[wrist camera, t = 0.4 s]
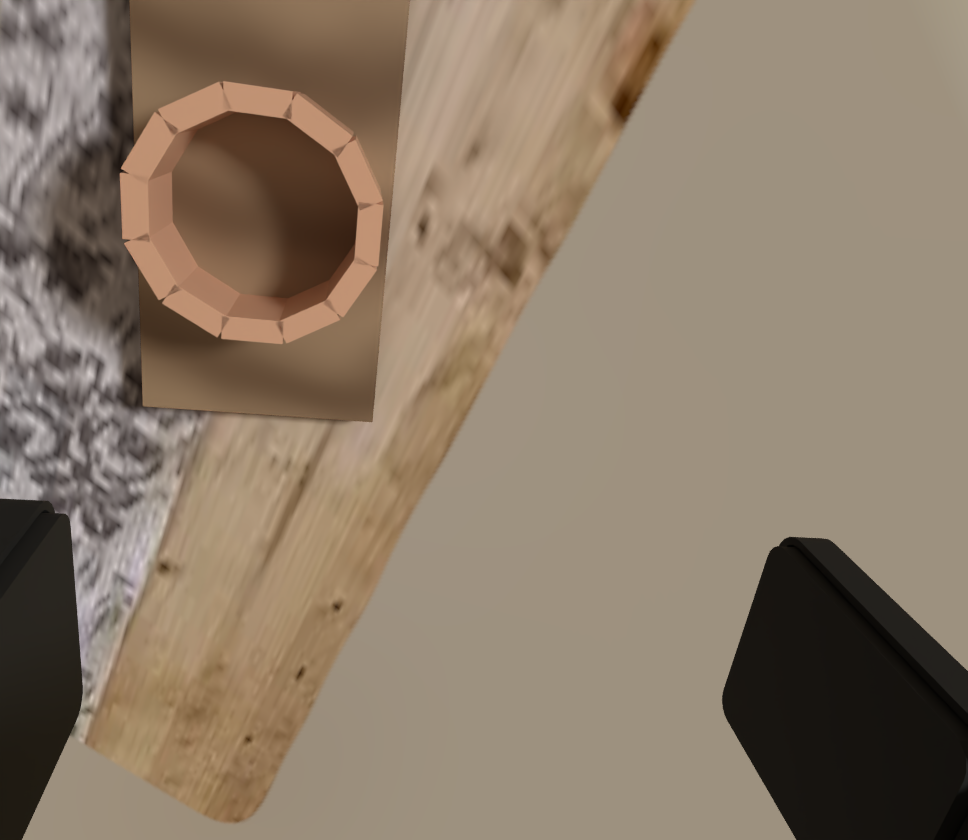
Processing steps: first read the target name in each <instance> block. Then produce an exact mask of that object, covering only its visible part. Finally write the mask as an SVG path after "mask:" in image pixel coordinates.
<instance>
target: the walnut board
mask: <svg viewBox="0 0 968 840" xmlns="http://www.w3.org/2000/svg"><path fill="white" fill-rule="evenodd" d="M129 4H130V34H131V64H132V94H133V125H134V145H135V144H136V142H137V140H138V139H139V137H140V135H141V134H142V132H143V130H144V129H145V127H146V125H147V124H148V122H149V120H150V119H151V117H152V115H153V114H154V112H159V111H158V109H159V108H161V107H164V106H166V105H168V104H170V103H173V102H175V101H177V100H179V99H181V98H184V97H186V96H188V95H190V94H193V93H195V92H197V91H199V90H201V89H204V88H206V87H208V86H210V85H213V84H215V83H217V82H223V81H227V82H235V83H242V84H249V85H256V86H263V87H270V88H276V89H283V90H290V91H297V92H301V94H305V95H307V96H308V97H309V98H311V99H312V100H313V101H314V102H316V103H317V104H318V105H320V106H321V107H322V108H323V109H325V110H326V111H327V112H329V113H330V114H331V115H332V116H334V117H335V118H336V119H338V120H339V121H340V122H341V123H343V124H344V125H345V126H347V127H348V128H349V129H351V130H352V131H353V132H354V133H353V136H352V137H354V136H357V138H358V140H359V142H360V145H361V147H362V149H363V151H364V154H365V156H366V158H367V160H368V162H369V165H370V167H371V169H372V171H373V174H374V176H375V178H376V180H377V183H378V185H379V187H380V189H381V194H382V199H383V205H384V206H383V218H382V229H381V241H380V253H379V265H378V266H377V271H376V272H375V274H374V275H373V276H372V278H371V279H370V281H369V282H368V283H367V285H366V286H365V288H364V289H363V290H362V292H361V293H360V295H359V296H358V297H357V299H356V300H355V302H354V303H353V304H352V306H351V307H350V309H349V310H348V311H347V313H346V314H345V316H344V317H342V316H340V320H339V321H337V322H334V323H332V324H330V325H328V326H325V327H323V328H321V329H319V330H316V331H314V332H312V333H309V334H307V335H305V336H303V337H300V338H298V339H296V340H294V341H291V342H289V343H286V341H285V340H284V341H283V344H274V343H263V342H251V341H240V340H228V339H221V333H220V334H219V336H218V337H216V336H214V335H212V334H211V333H209V332H207V331H206V330H204V329H203V328H201V327H199V326H198V325H196V324H195V323H193V322H191V321H190V320H188V319H186V318H185V317H183V316H182V315H180V314H178V313H177V312H175V311H174V310H172V309H170V308H169V307H167V306H165V305H164V304H162V303H163V301H164V300H165V298H166V297H165V298H163V299H160V300H158V298H157V296H156V295H155V293H154V292H153V290H152V288H151V287H150V285H149V283H148V282H147V280H146V279H145V277H144V275H143V274H142V272H141V270H140V269H139V267H138V275H139V305H140V335H141V365H142V395H143V406H147V407H161V408H176V409H190V410H204V411H219V412H233V413H248V414H262V415H277V416H291V417H305V418H320V419H334V420H349V421H363V422H372V420H373V409H374V398H375V386H376V375H377V364H378V353H379V341H380V330H381V319H382V308H383V296H384V285H385V274H386V262H387V251H388V240H389V229H390V217H391V206H392V195H393V184H394V172H395V161H396V150H397V139H398V127H399V116H400V105H401V94H402V82H403V71H404V60H405V49H406V37H407V26H408V15H409V4H410V0H129ZM172 210H173V224H174V225H175V227H176V229H177V230H178V232H179V234H180V236H181V237H182V239H183V241H184V243H185V244H186V246H187V248H188V250H189V251H190V253H191V255H192V256H193V258H194V260H195V262H196V263H197V265H198V267H200V268H201V269H203V270H205V271H206V272H208V273H209V274H211V275H212V276H214V277H215V278H217V279H218V280H220V281H222V282H223V283H225V284H226V285H228V286H229V287H231V288H232V289H234V290H235V291H237V292H239V293H240V294H249V295H259V296H269V297H280V298H290V297H292V296H294V295H296V294H299V293H301V292H303V291H305V290H308V289H310V288H312V287H314V286H317V285H319V284H321V283H324V282H326V281H328V280H330V278H331V277H332V275H333V274H334V273H335V271H336V270H337V268H338V267H339V265H340V264H341V263H342V261H343V260H344V258H345V257H346V255H347V254H348V253H349V251H350V250H351V248H352V247H353V245H354V244H355V241H356V228H357V214H358V205H357V203H356V201H355V198H354V196H353V194H352V192H351V190H350V188H349V185H348V183H347V181H346V179H345V177H344V175H343V173H342V170H341V168H340V166H339V164H338V162H337V160H336V158H335V155H334V154H333V153H331V152H330V151H329V150H327V149H326V148H325V147H323V146H322V145H321V144H319V143H318V142H317V141H315V140H314V139H313V138H311V137H310V136H309V135H307V134H306V133H305V132H303V131H302V130H301V129H299V128H298V127H297V126H295V125H294V124H293V123H292V122H290V121H289V120H288V119H285V118H277V117H270V116H263V115H256V114H249V113H242V112H236V113H234V114H232V115H229V116H227V117H225V118H223V119H221V120H218V121H216V122H214V123H212V124H209V125H207V126H205V127H203V128H201V129H198V130H197V132H196V133H195V135H194V137H193V138H192V140H191V142H190V143H189V145H188V146H187V148H186V150H185V151H184V153H183V155H182V156H181V158H180V159H179V161H178V163H177V164H176V166H175V168H174V169H173V171H172Z"/></svg>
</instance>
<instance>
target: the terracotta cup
mask: <svg viewBox="0 0 968 840" xmlns="http://www.w3.org/2000/svg"><path fill="white" fill-rule="evenodd" d="M158 111H159V112H154V114H153V115H152V117H151V119H150V120H149V122H148V124H147V125H146V127H145V129H144V130H143V132H142V134H141V135H140V137H139V139H138V140H137V142H136V144H135V145H134V147H133V149H132V151H131V152H130V154H129V156H128V157H127V159H126V161H125V162H124V164H123V166H122V167H121V169H123V170H124V172H121V173H120V190H121V214H122V239H128V241H127V242H125V243H124V244H125V246H126V248H127V249H128V251H129V252H130V254H131V256H132V257H133V259H134V261H135V262H136V264H137V265H138V267H139V269H140V270H141V272H142V274H143V275H144V277H145V279H146V280H147V282H148V283H149V285H150V287H151V288H152V290H153V292H154V293H155V295H156V296H157V298H158V300H160V299H163V298H165V297H166V298H165V300H164V301H163V303H162V304H164V305H165V306H167V307H169V308H170V309H172V310H174V311H175V312H177V313H178V314H180V315H182V316H183V317H185V318H186V319H188V320H190V321H191V322H193V323H195V324H196V325H198V326H199V327H201V328H203V329H204V330H206V331H207V332H209V333H211V334H212V335H214V336H216V337H218V336H219V334H220V333H221V339H228V340H240V341H251V342H263V343H274V344H283V341H284V340H285V341H286V343H289V342H291V341H294V340H296V339H298V338H300V337H303V336H305V335H307V334H309V333H312V332H314V331H316V330H319V329H321V328H323V327H325V326H328V325H330V324H332V323H334V322H337V321H339V320H340V316H342V317H344V316H345V314H346V313H347V311H348V310H349V309H350V307H351V306H352V304H353V303H354V302H355V300H356V299H357V297H358V296H359V295H360V293H361V292H362V290H363V289H364V288H365V286H366V285H367V283H368V282H369V281H370V279H371V278H372V276H373V275H374V274H375V272H376V271H377V266H378V265H379V253H380V241H381V229H382V218H383V206H384V205H383V199H382V194H381V189H380V187H379V185H378V183H377V180H376V178H375V176H374V174H373V171H372V169H371V167H370V165H369V162H368V160H367V158H366V156H365V154H364V151H363V149H362V147H361V145H360V142H359V140H358V138H357V136H354V137H352V136H353V133H354V132H353V131H352V130H351V129H349V128H348V127H347V126H345V125H344V124H343V123H341V122H340V121H339V120H338V119H336V118H335V117H334V116H332V115H331V114H330V113H329V112H327V111H326V110H325V109H323V108H322V107H321V106H320V105H318V104H317V103H316V102H314V101H313V100H312V99H311V98H309V97H308V96H307V95H305V94H301V92H297V91H290V90H283V89H276V88H270V87H263V86H256V85H249V84H242V83H235V82H227V81H223V82H217V83H215V84H213V85H210V86H208V87H206V88H204V89H201V90H199V91H197V92H195V93H193V94H190V95H188V96H186V97H184V98H181V99H179V100H177V101H175V102H173V103H170V104H168V105H166V106H164V107H161V108H159V109H158ZM236 112H242V113H249V114H256V115H263V116H270V117H277V118H285V119H288V120H289V121H290V122H292V123H293V124H294V125H295V126H297V127H298V128H299V129H301V130H302V131H303V132H305V133H306V134H307V135H309V136H310V137H311V138H313V139H314V140H315V141H317V142H318V143H319V144H321V145H322V146H323V147H325V148H326V149H327V150H329V151H330V152H331V153H333V154H334V155H335V158H336V160H337V162H338V164H339V166H340V168H341V170H342V173H343V175H344V177H345V179H346V181H347V183H348V185H349V188H350V190H351V192H352V194H353V196H354V198H355V201H356V203H357V205H358V214H357V228H356V241H355V244H354V245H353V247H352V248H351V250H350V251H349V253H348V254H347V255H346V257H345V258H344V260H343V261H342V263H341V264H340V265H339V267H338V268H337V270H336V271H335V273H334V274H333V275H332V277H331V278H330V280H328V281H326V282H324V283H321V284H319V285H317V286H314V287H312V288H310V289H308V290H305V291H303V292H301V293H299V294H296V295H294V296H292V297H290V298H280V297H269V296H259V295H249V294H240V293H239V292H237V291H235V290H234V289H232V288H231V287H229V286H228V285H226V284H225V283H223V282H222V281H220V280H218V279H217V278H215V277H214V276H212V275H211V274H209V273H208V272H206V271H205V270H203V269H201V268H200V267H198V265H197V263H196V262H195V260H194V258H193V256H192V255H191V253H190V251H189V250H188V248H187V246H186V244H185V243H184V241H183V239H182V237H181V236H180V234H179V232H178V230H177V229H176V227H175V225H174V224H173V210H172V171H173V169H174V168H175V166H176V164H177V163H178V161H179V159H180V158H181V156H182V155H183V153H184V151H185V150H186V148H187V146H188V145H189V143H190V142H191V140H192V138H193V137H194V135H195V133H196V132H197V130H198V129H201V128H203V127H205V126H207V125H209V124H212V123H214V122H216V121H218V120H221V119H223V118H225V117H227V116H229V115H232V114H234V113H236Z"/></svg>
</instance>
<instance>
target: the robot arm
mask: <svg viewBox="0 0 968 840" xmlns="http://www.w3.org/2000/svg"><path fill="white" fill-rule="evenodd" d="M82 693H83V685H82V671H81V658H80V645H79V632H78V619H77V605H76V592H75V579H74V566H73V552H72V539H71V526H70V520H69V518H68V516H67V515H66V514H59V513H55V511H54V508H53V506H52V504H51V503H50V502H49V501H37V500H16V499H0V840H22V838H23V836H24V834H25V831H26V829H27V827H28V825H29V823H30V820H31V818H32V816H33V814H34V812H35V810H36V807H37V805H38V803H39V801H40V799H41V797H42V794H43V792H44V790H45V788H46V786H47V783H48V781H49V779H50V777H51V775H52V773H53V770H54V768H55V766H56V764H57V761H58V759H59V757H60V755H61V753H62V751H63V749H64V746H65V744H66V742H67V740H68V738H69V735H70V733H71V731H72V729H73V727H74V725H75V722H76V720H77V717H78V715H79V711H80V707H81V702H82ZM722 704H723V710H724V714H725V716H726V719H727V721H728V722H729V724H730V726H731V728H732V729H733V731H734V732H735V734H736V736H737V738H738V740H739V741H740V743H741V745H742V747H743V748H744V750H745V752H746V754H747V755H748V757H749V758H750V760H751V762H752V764H753V765H754V767H755V769H756V771H757V772H758V774H759V776H760V778H761V779H762V781H763V783H764V785H765V786H766V788H767V790H768V791H769V793H770V795H771V797H772V798H773V800H774V802H775V803H776V805H777V807H778V809H779V810H780V812H781V814H782V816H783V817H784V819H785V821H786V823H787V824H788V826H789V828H790V829H791V831H792V833H793V835H794V836H795V838H796V840H968V671H967V670H966V669H965V668H964V667H963V666H962V665H961V664H960V663H959V662H958V661H956V660H955V659H954V658H953V657H952V656H951V655H950V654H949V653H948V652H947V651H946V650H945V649H944V648H943V647H942V646H941V645H940V644H939V643H938V642H937V641H936V640H935V639H933V637H931V636H930V635H929V634H928V633H927V632H926V631H925V630H924V629H923V628H922V627H921V626H920V625H919V624H918V623H917V622H916V621H915V620H914V619H913V618H912V617H910V616H909V614H907V613H906V612H905V611H904V610H903V609H902V608H901V607H900V606H899V605H898V604H897V603H896V602H895V601H894V600H893V599H892V598H891V597H890V596H889V595H887V593H886V592H884V591H883V590H882V589H881V588H880V587H879V586H878V585H877V584H876V583H875V582H874V581H873V580H872V579H871V578H870V577H869V576H868V575H867V574H866V573H865V572H864V571H863V570H861V569H860V568H859V567H858V566H857V565H856V564H855V563H854V562H853V561H852V560H851V559H850V558H849V557H848V556H847V555H846V554H845V553H844V552H843V551H841V549H839V547H837V546H836V545H835V544H834V543H833V542H832V541H830V540H828V539H822V538H801V537H800V538H799V537H789V538H786V539H784V540H783V541H782V542H781V543H780V545H779V546H777V547H774V548H773V549H772V550H771V551H770V553H769V555H768V557H767V560H766V563H765V566H764V569H763V572H762V575H761V578H760V581H759V584H758V588H757V590H756V594H755V596H754V600H753V602H752V606H751V609H750V612H749V615H748V618H747V621H746V624H745V627H744V630H743V633H742V636H741V639H740V642H739V645H738V648H737V651H736V654H735V657H734V660H733V663H732V666H731V669H730V672H729V675H728V678H727V681H726V684H725V687H724V691H723V696H722Z"/></svg>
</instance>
